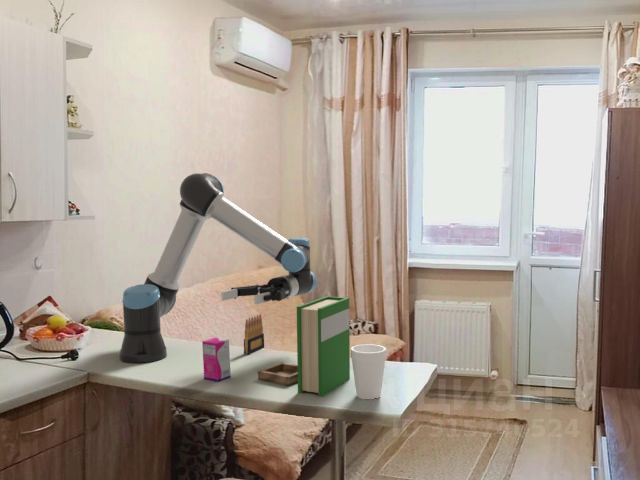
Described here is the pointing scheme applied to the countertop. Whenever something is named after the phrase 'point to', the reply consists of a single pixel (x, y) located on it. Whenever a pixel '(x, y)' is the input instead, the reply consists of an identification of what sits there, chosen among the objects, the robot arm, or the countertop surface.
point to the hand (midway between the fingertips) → (238, 298)
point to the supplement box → (216, 359)
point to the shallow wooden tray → (280, 374)
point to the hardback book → (323, 344)
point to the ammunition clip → (253, 335)
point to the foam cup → (368, 369)
